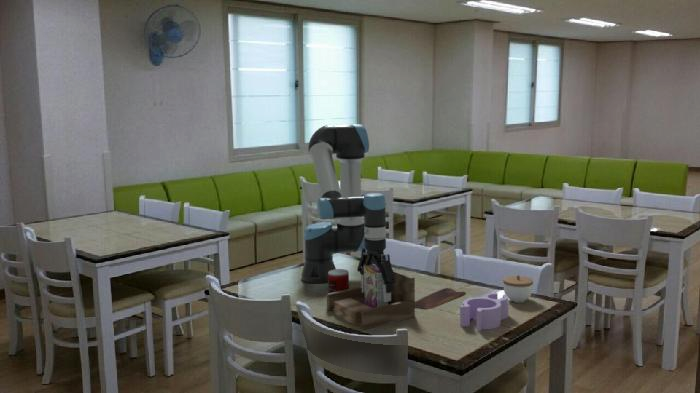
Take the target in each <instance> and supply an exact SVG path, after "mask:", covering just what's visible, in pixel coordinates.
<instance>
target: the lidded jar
mask: <svg viewBox="0 0 700 393" xmlns="http://www.w3.org/2000/svg"><path fill="white" fill-rule="evenodd" d="M502 282H503V292H504V295H507V296H508V300H509V299H510V300H511V302H512V301H514V302H513V303H525V302H527V300H528V299H529V298H530V297H531V295H532V294H533V293H532V292H533V287H534V280H533V279H532V278H531V277H527V276H524V275H519V274H517V275H508V276H506V277H504V278H503V281H502ZM510 300H509V301H510ZM524 301H525V302H524Z"/></svg>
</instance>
